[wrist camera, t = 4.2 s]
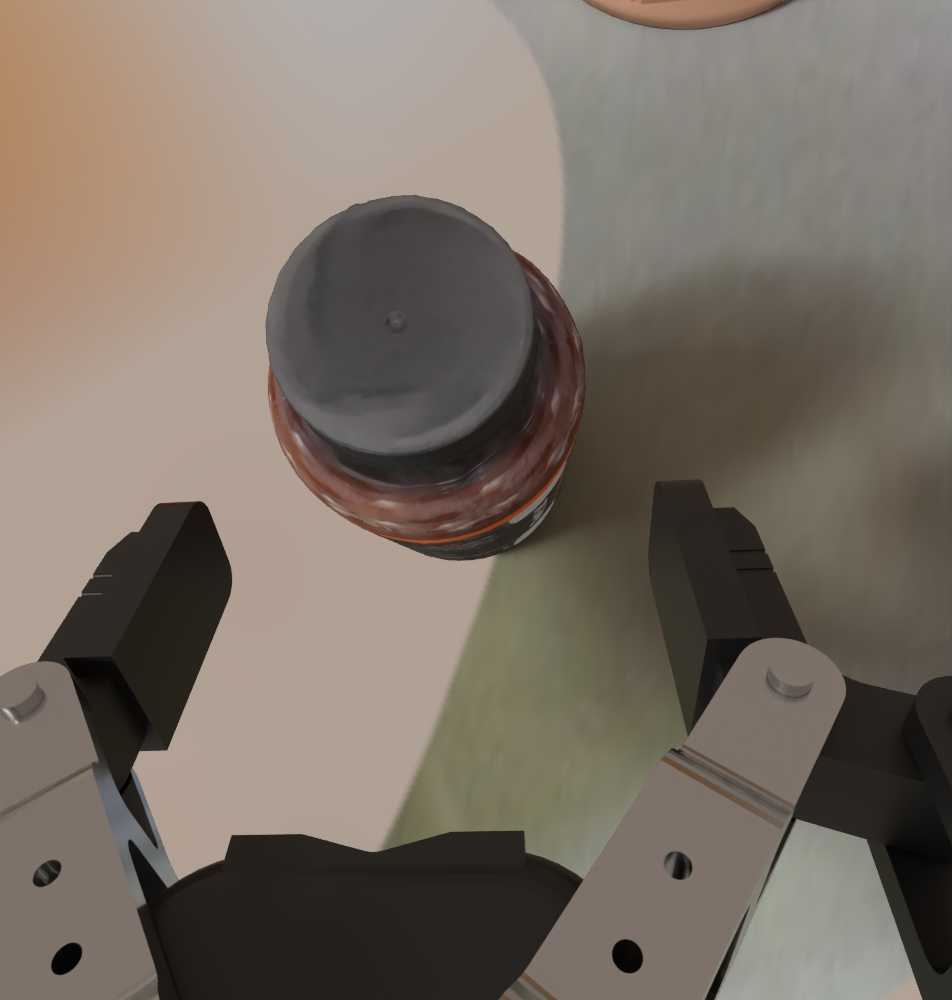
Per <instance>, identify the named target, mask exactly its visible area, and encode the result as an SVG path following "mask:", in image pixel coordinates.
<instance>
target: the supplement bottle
mask: <svg viewBox="0 0 952 1000" xmlns="http://www.w3.org/2000/svg"><path fill="white" fill-rule="evenodd" d="M266 343H267V348H268V353H269V361H270V365H269V376H268V377H269V378H268V395H269V406H270V412H271V416H272V421H273V424H274V428H275V432H276V435H277V437H278V440H279V443H280V445H281V448H282V450H283V452H284V454H285V456H286V457H287V459H288V461H289V462H290V464H291V466H292V468H293V469H294V471H295V472H296V474H297V475H298V476H299V478H300V479H301V480H302V481H303V482H304V484H305V485H306V486H307V487H308V488H309V489H310V491H312V492H313V493H314V494H315V495H316V496H317V497H318V498H319V499H320V500H321V501H322V502H324V503H325V504H326V505H327V506H328V507H330V508H331V509H332V510H334V511H335V512H337V513H338V514H339V515H341V516H342V517H344V518H345V519H347V520H348V521H350V522H352V523H354V524H356V525H358V526H359V527H361V528H363V529H365V530H367V531H370V532H372V533H374V534H376V535H378V536H381V537H383V538H386V539H389V540H391V541H393V542H396V543H398V544H400V545H402V546H405V547H408V548H410V549H411V550H414V551H416V552H419V553H422V554H424V555H427V556H430V557H435V558H440V559H444V560H457V561H460V560H475V559H482V558H487V557H490V556H493V555H496V554H499V553H501V552H504V551H506V550H508V549H509V548H511V547H513V546H515V545H516V544H518V543H519V542H521V541H522V540H524V539H525V538H526V537H527V536H528V535H529V534H531V533H532V532H533V531H534V530H535V529H536V527H537V526H538V525H539V524H540V523H541V522H542V521H543V519H544V518H545V517H546V515H547V514H548V512H549V511H550V509H551V507H552V505H553V503H554V502H555V500H556V498H557V497H558V493H559V491H560V489H561V485H562V482H563V478H564V475H565V471H566V467H567V465H568V462H569V458H570V456H571V452H572V449H573V446H574V444H575V441H576V436H577V432H578V428H579V424H580V421H581V417H582V412H583V406H584V398H585V389H586V388H585V365H584V357H583V349H582V341H581V338H580V336H579V334H578V331H577V328H576V326H575V323H574V321H573V319H572V316H571V314H570V312H569V310H568V308H567V307H566V305H565V303H564V301H563V299H562V298H561V296H560V295H559V293H558V292H557V290H556V289H555V288H554V286H553V285H552V284H551V283H550V281H549V279H548V278H547V277H546V276H544V275H543V274H542V273H541V271H540V270H539V269H538V268H537V267H536V266H534V264H532V262H530V261H528V260H527V259H526V258H525V257H523V256H521V255H520V254H518V253H517V252H514V251H513V250H512V249H511V248H510V246H509V245H508V243H507V242H506V241H505V240H504V239H503V238H502V237H501V236H500V235H499V234H498V233H497V232H496V231H495V229H494V228H493V227H491V226H489V225H488V224H487V223H485V222H484V221H482V220H481V219H480V218H478V217H477V216H475V215H473V214H471V213H469V212H467V211H466V210H465V209H464V208H462V207H459V206H456V205H454V204H452V203H448V202H445V201H441V200H439V199H433V198H426V197H421V196H417V195H411V196H407V195H406V196H405V195H403V196H392V197H387V198H382V199H376V200H371V201H368V202H366V203H363V204H355V205H352V206H351V207H349V208H348V209H347V210H345V211H342V212H340V213H338V214H336V215H334V216H332V217H330V218H329V219H327V220H326V221H324V222H323V223H322V224H320V225H319V226H317V227H316V228H315V229H314V230H313V231H312V232H311V234H310V235H309V236H307V237H306V238H305V239H304V240H303V241H302V242H301V243H300V244H299V245H298V246H297V247H296V248H295V250H294V251H293V253H292V255H291V256H290V258H289V259H288V261H287V262H286V264H285V265H284V266H283V268H282V270H281V271H280V273H279V275H278V278H277V281H276V284H275V287H274V290H273V293H272V296H271V298H270V301H269V305H268V313H267V318H266Z"/></svg>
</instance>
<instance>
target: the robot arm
mask: <svg viewBox="0 0 952 1000" xmlns="http://www.w3.org/2000/svg"><path fill="white" fill-rule="evenodd" d="M648 561H649V573H650V580H651V585H652V589H653V593H654V597H655V602H656V606H657V610H658V614H659V618H660V622H661V626H662V631H663V635H664V639H665V643H666V647H667V651H668V655H669V660H670V664H671V668H672V672H673V676H674V680H675V684H676V689H677V693H678V697H679V701H680V705H681V709H682V714H683V718H684V722H685V726H686V730H687V734H688V738H687V740H686V741H685V743H684V744H683V745H682V747H681V748H680V749H679V750H676V749H673V748H672V749H670V750H669V751H668V752H667V753H666V754H665V755H664V756H663V758H662V759H661V760H660V762H659V763H658V765H657V766H656V768H655V770H654V771H653V773H652V774H651V776H650V777H649V779H648V780H647V782H646V784H645V785H644V787H643V788H642V790H641V791H640V793H639V794H638V796H637V798H636V799H635V801H634V802H633V804H632V805H631V807H630V808H629V810H628V812H627V813H626V815H625V816H624V818H623V819H622V821H621V822H620V824H619V826H618V827H617V829H616V830H615V832H614V833H613V835H612V836H611V838H610V840H609V841H608V843H607V844H606V846H605V847H604V849H603V850H602V852H601V854H600V855H599V857H598V858H597V860H596V861H595V863H594V864H593V866H592V868H591V869H590V871H589V872H588V874H587V875H586V877H585V878H584V880H583V879H582V878H581V877H579V876H578V875H577V874H575V873H574V872H572V871H570V870H568V869H567V868H565V867H563V866H561V865H560V864H558V863H555V862H553V861H550V860H548V859H545V858H543V857H540V856H536V855H533V854H529V853H526V852H525V837H524V831H476V832H449V833H445V834H441V835H438V836H434V837H431V838H427V839H423V840H420V841H416V842H412V843H409V844H405V845H402V846H398V847H394V848H391V849H387V850H383V851H379V852H367V851H363V850H359V849H355V848H352V847H348V846H344V845H340V844H337V843H333V842H329V841H326V840H321V839H318V838H314V837H311V836H307V835H302V834H286V835H232V836H231V840H230V843H229V847H228V850H227V853H226V856H225V860H222V861H218V862H216V863H213V864H211V865H208V866H206V867H204V868H201V869H199V870H197V871H195V872H193V873H191V874H189V875H187V876H185V877H184V878H182V879H180V880H179V879H178V878H177V876H176V874H175V872H174V870H173V868H172V866H171V863H170V861H169V859H168V856H167V854H166V851H165V848H164V846H163V843H162V840H161V838H160V835H159V832H158V830H157V827H156V824H155V822H154V819H153V816H152V814H151V811H150V808H149V806H148V803H147V800H146V798H145V795H144V793H143V790H142V787H141V785H140V782H139V779H138V777H137V775H136V773H135V771H134V770H133V768H132V767H133V764H134V762H135V760H136V758H137V755H138V753H139V751H157V750H158V751H160V750H167V749H168V747H169V744H170V742H171V739H172V737H173V734H174V731H175V730H176V727H177V724H178V722H179V720H180V717H181V715H182V712H183V710H184V707H185V705H186V703H187V700H188V698H189V695H190V693H191V690H192V688H193V685H194V683H195V681H196V678H197V675H198V673H199V671H200V668H201V666H202V663H203V661H204V658H205V655H206V653H207V651H208V649H209V646H210V644H211V641H212V639H213V636H214V634H215V631H216V629H217V627H218V624H219V622H220V619H221V617H222V614H223V612H224V609H225V607H226V604H227V602H228V599H229V597H230V593H231V588H232V572H231V567H230V563H229V560H228V557H227V555H226V552H225V550H224V547H223V545H222V542H221V539H220V537H219V534H218V532H217V529H216V527H215V524H214V522H213V519H212V516H211V514H210V511H209V509H208V507H207V506H206V505H205V504H204V503H203V502H200V501H197V502H176V503H159V504H157V505H156V506H155V507H154V508H153V510H152V512H151V513H150V515H149V517H148V518H147V520H146V522H145V523H144V525H143V526H142V528H141V530H140V531H139V532H131V533H129V534H128V535H127V536H126V537H125V538H123V539H122V540H121V541H120V542H119V543H118V544H117V545H115V546H114V547H113V548H112V549H111V550H109V551H108V552H107V553H106V555H105V556H104V558H103V559H102V561H101V563H100V564H99V566H98V567H97V569H96V570H95V572H94V574H93V579H90V580H89V582H88V583H87V585H86V586H85V588H84V589H83V591H82V597H78V599H77V600H76V602H75V603H74V605H73V607H72V608H71V610H70V611H69V613H68V614H67V616H66V618H65V619H64V621H63V622H62V624H61V625H60V627H59V628H58V630H57V632H56V633H55V635H54V637H53V638H52V639H51V641H50V643H49V644H48V646H47V647H46V649H45V650H44V652H43V654H42V655H41V657H40V658H39V660H38V661H37V662H35V663H30V664H26V665H24V666H20V667H18V668H15V669H13V670H11V671H9V672H7V673H5V674H4V675H2V676H1V677H0V1000H716V999H717V997H718V995H719V993H720V991H721V988H722V986H723V984H724V982H725V980H726V978H727V975H728V973H729V971H730V969H731V966H732V964H733V962H734V960H735V957H736V955H737V953H738V950H739V948H740V946H741V943H742V941H743V939H744V936H745V934H746V932H747V929H748V927H749V925H750V922H751V920H752V918H753V915H754V913H755V911H756V909H757V907H758V904H759V902H760V900H761V898H762V896H763V893H764V891H765V889H766V887H767V885H768V882H769V880H770V878H771V876H772V874H773V872H774V869H775V867H776V865H777V863H778V861H779V858H780V856H781V854H782V852H783V850H784V848H785V845H786V843H787V841H788V839H789V837H790V834H791V832H792V830H793V828H794V826H795V824H796V821H797V819H799V820H802V821H806V822H809V823H812V824H816V825H819V826H823V827H826V828H830V829H833V830H836V831H840V832H843V833H847V834H850V835H854V836H857V837H860V838H864V839H867V842H868V845H869V847H870V850H871V853H872V856H873V859H874V862H875V865H876V868H877V870H878V873H879V876H880V879H881V882H882V885H883V888H884V891H885V893H886V896H887V899H888V902H889V905H890V908H891V911H892V913H893V916H894V919H895V922H896V925H897V928H898V931H899V934H900V936H901V939H902V942H903V945H904V948H905V951H906V954H907V957H908V959H909V962H910V965H911V968H912V971H913V974H914V977H915V979H916V982H917V985H918V988H919V991H920V994H921V996H922V1000H952V676H944V677H940V678H935V679H933V680H931V681H928V682H927V683H926V684H924V685H923V686H922V687H921V689H920V690H919V691H918V693H917V695H916V696H915V695H911V694H907V693H902V692H898V691H893V690H889V689H885V688H880V687H876V686H872V685H868V684H864V683H860V682H857V681H855V680H852V679H850V678H847V677H845V676H843V675H842V673H841V672H840V670H839V669H838V667H837V666H836V665H835V664H834V663H833V661H832V660H831V659H829V658H828V657H827V656H826V655H825V654H823V653H822V652H820V651H819V650H817V649H816V648H814V647H812V646H810V645H808V644H807V642H806V640H805V638H804V636H803V634H802V631H801V629H800V627H799V624H798V622H797V620H796V618H795V615H794V613H793V611H792V609H791V606H790V604H789V602H788V600H787V597H786V595H785V593H784V591H783V588H782V586H781V584H780V582H779V579H778V577H777V575H776V573H775V572H773V566H772V563H771V561H770V559H769V557H768V554H765V548H764V545H763V543H762V541H761V539H760V536H759V534H758V532H757V530H756V527H755V526H754V525H753V524H752V523H751V522H750V521H748V520H747V519H746V518H745V517H744V516H743V515H742V514H741V513H740V512H738V511H737V510H736V509H735V508H734V507H731V508H713V507H712V504H711V502H710V499H709V496H708V494H707V491H706V489H705V486H704V484H703V482H702V481H701V480H679V481H658V482H656V485H655V489H654V497H653V507H652V518H651V528H650V538H649V550H648Z"/></svg>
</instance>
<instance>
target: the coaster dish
mask: <svg viewBox="0 0 952 1000" xmlns="http://www.w3.org/2000/svg"><path fill="white" fill-rule="evenodd" d="M583 1H585V2H586V3H588V4H589V5H591V6H593V7H595V8H597V9H599V10H601V11H603V12H605V13H607V14H609V15H612V16H615V17H617V18H620V19H623V20H626V21H629V22H632V23H637V24H642V25H646V26H651V27H658V28H670V29H699V28H707V27H713V26H720V25H725V24H729V23H733V22H736V21H740V20H744V19H747V18H749V17H752V16H754V15H757V14H759V13H762V12H764V11H767V10H769V9H770V8H772V7H774V6H776V5H778V4H779V3H781V2H783V1H785V0H583Z"/></svg>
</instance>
